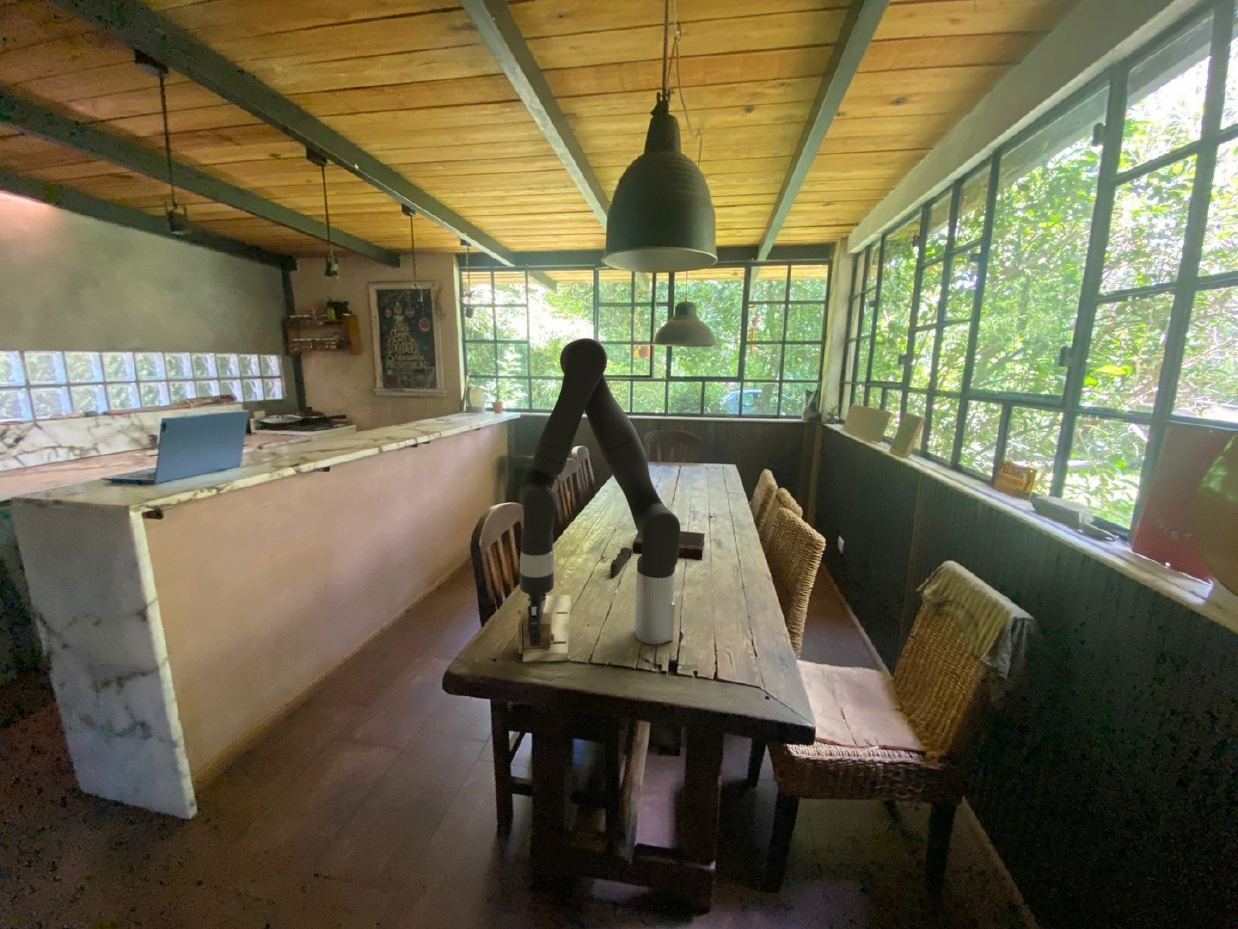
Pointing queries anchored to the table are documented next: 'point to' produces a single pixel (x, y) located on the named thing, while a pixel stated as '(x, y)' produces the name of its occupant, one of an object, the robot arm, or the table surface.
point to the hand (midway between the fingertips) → (536, 634)
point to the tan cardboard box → (545, 632)
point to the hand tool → (620, 561)
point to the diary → (681, 544)
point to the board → (554, 631)
